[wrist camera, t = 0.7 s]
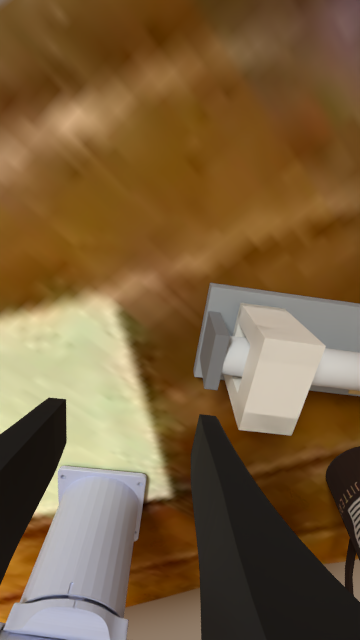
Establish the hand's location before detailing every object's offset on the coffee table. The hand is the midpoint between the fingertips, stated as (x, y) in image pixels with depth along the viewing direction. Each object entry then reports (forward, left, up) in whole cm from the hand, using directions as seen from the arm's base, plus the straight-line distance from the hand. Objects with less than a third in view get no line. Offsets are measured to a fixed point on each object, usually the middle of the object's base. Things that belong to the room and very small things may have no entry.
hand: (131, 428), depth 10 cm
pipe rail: (0, -11, -10) cm, 16 cm away
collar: (0, -7, -9) cm, 11 cm away
